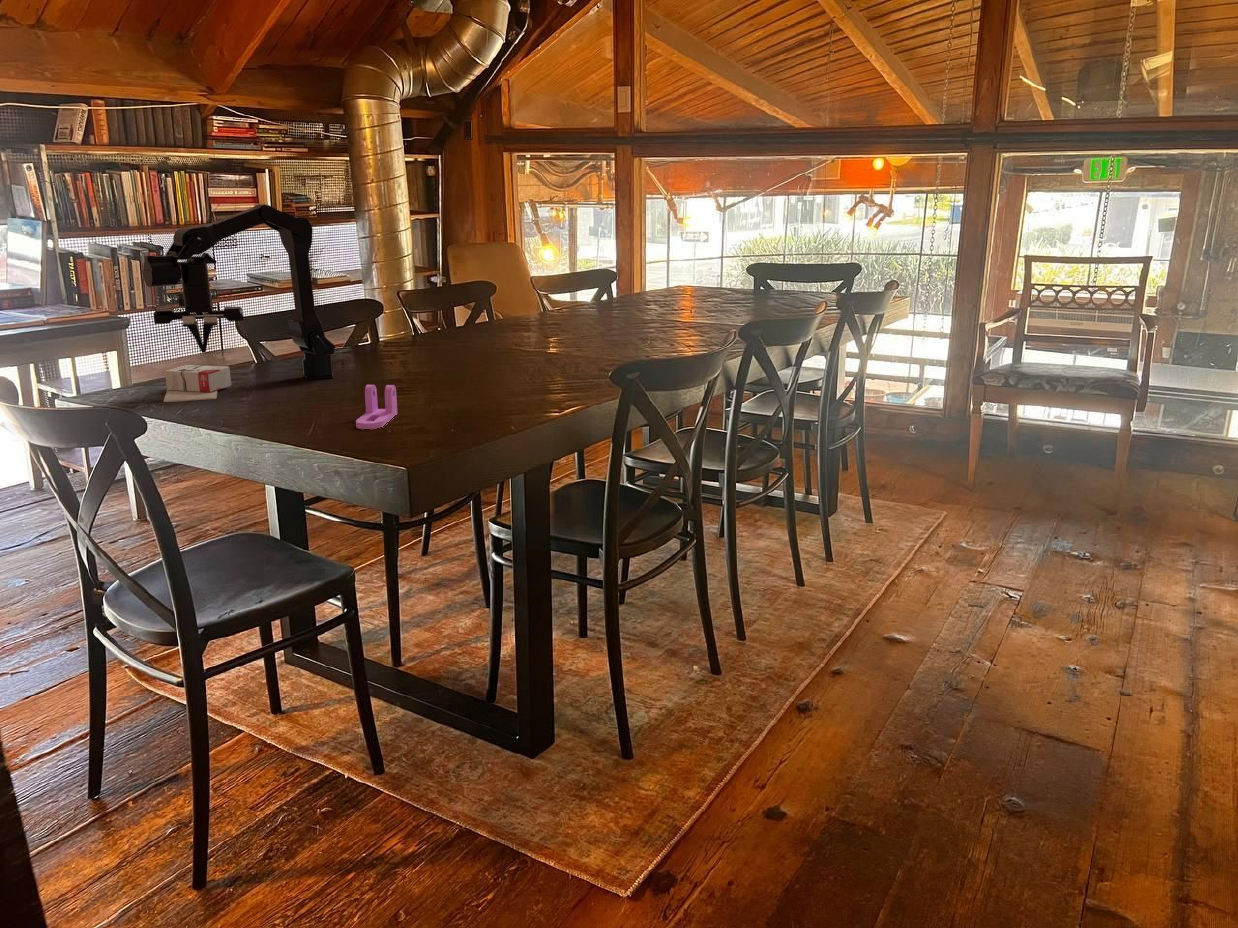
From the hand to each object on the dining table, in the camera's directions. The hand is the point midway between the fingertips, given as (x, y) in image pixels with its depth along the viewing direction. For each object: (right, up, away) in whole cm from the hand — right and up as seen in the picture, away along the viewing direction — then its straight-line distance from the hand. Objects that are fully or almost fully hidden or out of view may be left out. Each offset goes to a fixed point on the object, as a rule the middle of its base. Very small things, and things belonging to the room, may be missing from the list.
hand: (203, 352), depth 216 cm
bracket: (+46, -18, -24) cm, 55 cm away
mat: (-3, -9, +1) cm, 10 cm away
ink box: (+2, -6, +4) cm, 8 cm away
